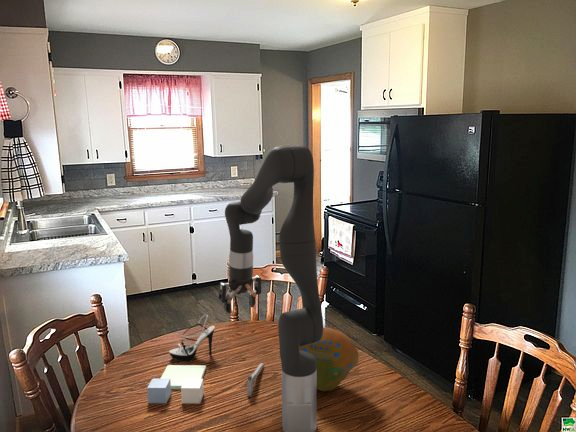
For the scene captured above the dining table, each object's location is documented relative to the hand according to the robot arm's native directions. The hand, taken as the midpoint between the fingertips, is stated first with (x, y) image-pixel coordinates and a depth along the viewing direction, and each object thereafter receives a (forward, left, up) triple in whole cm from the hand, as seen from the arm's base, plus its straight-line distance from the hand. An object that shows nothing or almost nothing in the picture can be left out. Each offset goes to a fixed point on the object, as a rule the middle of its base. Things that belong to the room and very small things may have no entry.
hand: (239, 309), depth 158 cm
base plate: (-5, +19, -22) cm, 29 cm away
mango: (-9, -27, -22) cm, 36 cm away
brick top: (-16, +23, -22) cm, 36 cm away
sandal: (+11, +19, -22) cm, 31 cm away
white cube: (-16, +13, -22) cm, 30 cm away
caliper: (-5, -5, -22) cm, 24 cm away
